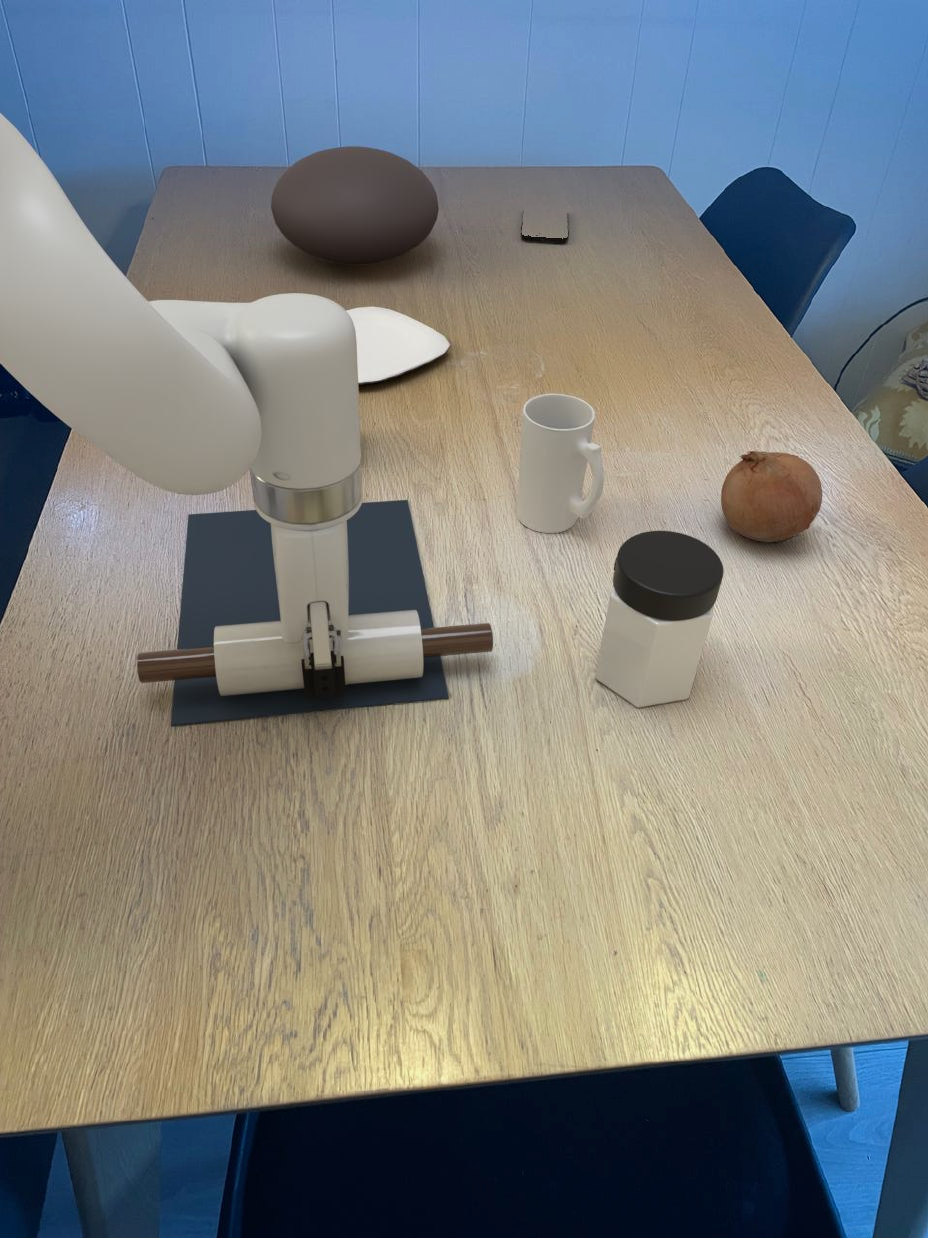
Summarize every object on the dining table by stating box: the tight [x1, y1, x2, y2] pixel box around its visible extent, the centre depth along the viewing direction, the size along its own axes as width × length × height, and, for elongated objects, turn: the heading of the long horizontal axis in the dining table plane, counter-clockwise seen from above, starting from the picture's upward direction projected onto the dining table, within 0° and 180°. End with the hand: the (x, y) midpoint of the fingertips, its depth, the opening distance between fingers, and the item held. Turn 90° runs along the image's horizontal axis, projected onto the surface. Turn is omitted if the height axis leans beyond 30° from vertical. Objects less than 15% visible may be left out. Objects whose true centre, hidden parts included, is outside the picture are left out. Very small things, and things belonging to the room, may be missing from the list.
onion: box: [720, 450, 823, 544], centre depth 92 cm, size 10×9×10 cm
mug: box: [516, 393, 605, 534], centre depth 90 cm, size 10×7×12 cm, turn 37°
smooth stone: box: [270, 145, 440, 266], centre depth 139 cm, size 25×25×15 cm
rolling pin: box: [136, 610, 494, 696], centre depth 75 cm, size 28×6×6 cm, turn 100°
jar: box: [594, 530, 725, 708], centre depth 75 cm, size 9×8×12 cm
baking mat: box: [170, 499, 450, 727], centre depth 85 cm, size 28×22×1 cm
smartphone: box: [520, 226, 570, 244], centre depth 156 cm, size 8×1×15 cm
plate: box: [346, 306, 451, 385], centre depth 120 cm, size 18×18×2 cm
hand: (323, 665), depth 76 cm, fingers closed on rolling pin, 5 cm apart
